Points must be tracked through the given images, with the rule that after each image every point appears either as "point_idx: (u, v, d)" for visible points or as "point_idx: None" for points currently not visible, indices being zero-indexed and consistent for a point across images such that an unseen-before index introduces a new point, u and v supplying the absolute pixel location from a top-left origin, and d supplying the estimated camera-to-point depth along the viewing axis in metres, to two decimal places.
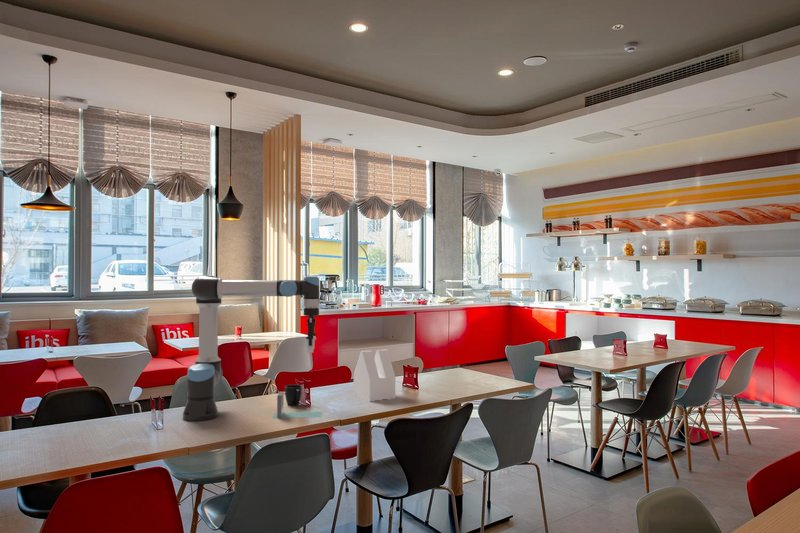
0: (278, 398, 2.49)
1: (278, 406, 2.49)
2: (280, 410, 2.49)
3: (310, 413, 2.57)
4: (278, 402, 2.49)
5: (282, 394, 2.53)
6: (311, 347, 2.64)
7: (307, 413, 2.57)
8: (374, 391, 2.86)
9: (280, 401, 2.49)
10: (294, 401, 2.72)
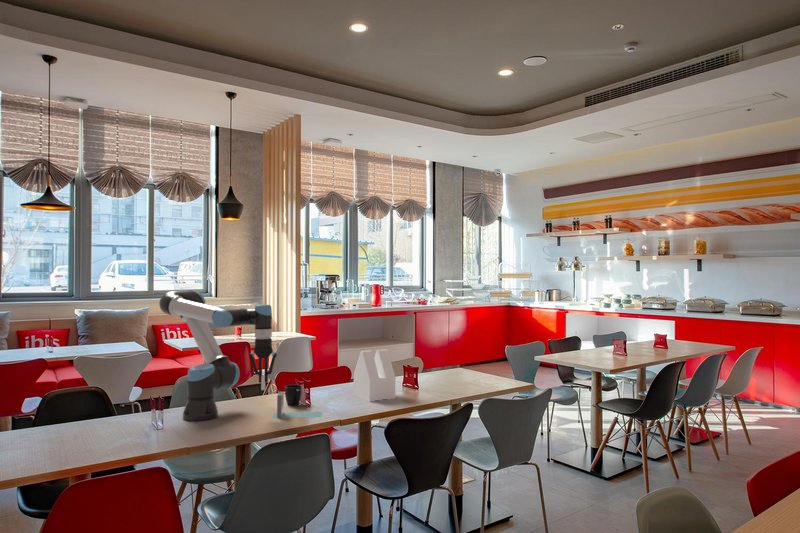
0: (278, 398, 2.49)
1: (278, 406, 2.49)
2: (280, 410, 2.49)
3: (310, 413, 2.57)
4: (278, 402, 2.49)
5: (282, 394, 2.53)
6: None
7: (307, 413, 2.57)
8: (374, 391, 2.86)
9: (280, 401, 2.49)
10: (294, 401, 2.72)
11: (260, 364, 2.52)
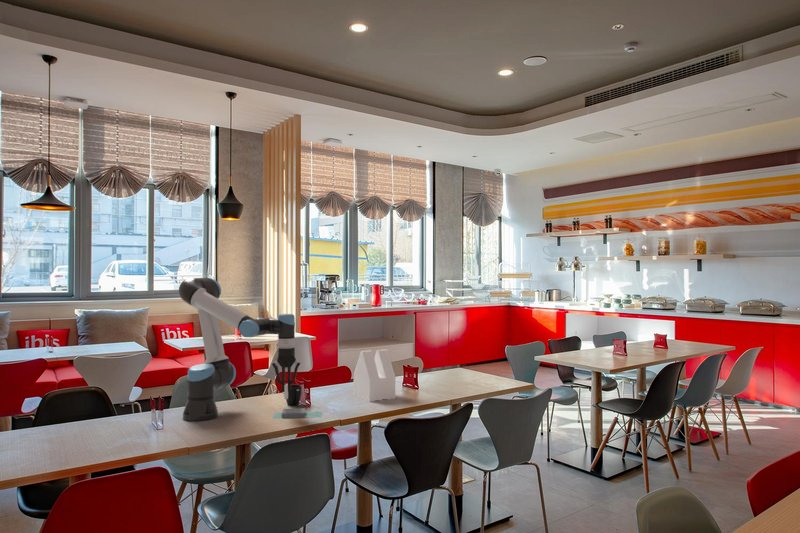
0: (301, 414, 2.50)
1: (293, 414, 2.50)
2: (288, 416, 2.49)
3: (310, 413, 2.57)
4: (297, 414, 2.50)
5: (303, 415, 2.54)
6: None
7: (307, 413, 2.57)
8: (374, 391, 2.86)
9: (298, 416, 2.50)
10: (294, 401, 2.72)
11: (283, 373, 2.53)
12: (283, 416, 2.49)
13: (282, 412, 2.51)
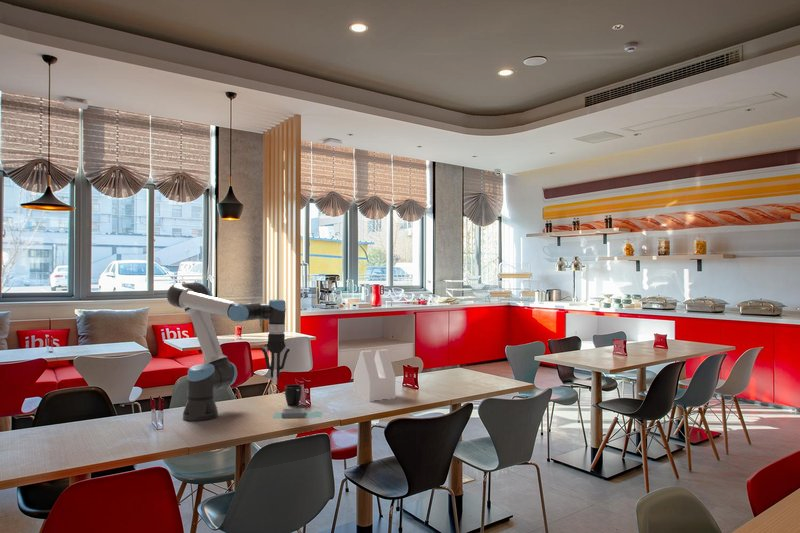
0: (301, 414, 2.50)
1: (293, 414, 2.50)
2: (288, 416, 2.49)
3: (310, 413, 2.57)
4: (297, 414, 2.50)
5: (303, 415, 2.54)
6: (273, 379, 2.53)
7: (307, 413, 2.57)
8: (374, 391, 2.86)
9: (298, 416, 2.50)
10: (294, 401, 2.72)
11: (272, 359, 2.52)
12: (283, 416, 2.49)
13: (282, 412, 2.51)
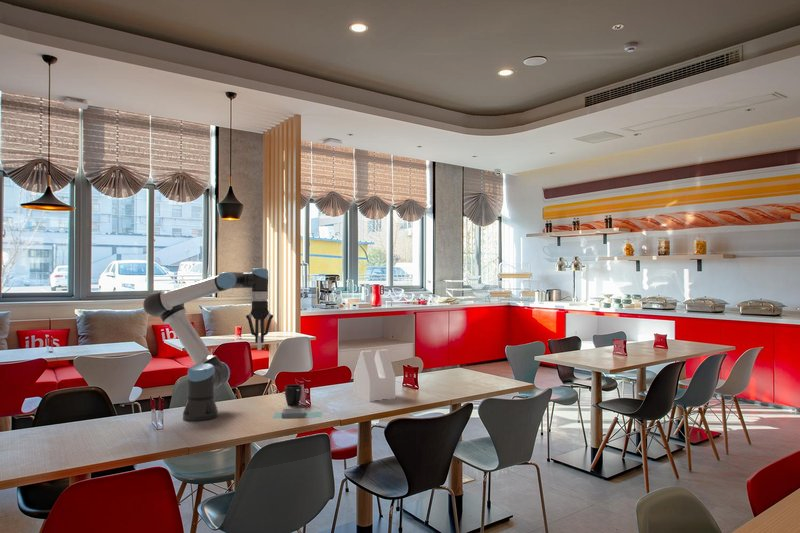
0: (301, 414, 2.50)
1: (293, 414, 2.50)
2: (288, 416, 2.49)
3: (310, 413, 2.57)
4: (297, 414, 2.50)
5: (303, 415, 2.54)
6: None
7: (307, 413, 2.57)
8: (374, 391, 2.86)
9: (298, 416, 2.50)
10: (294, 401, 2.72)
11: (256, 325, 2.62)
12: (283, 416, 2.49)
13: (282, 412, 2.51)
